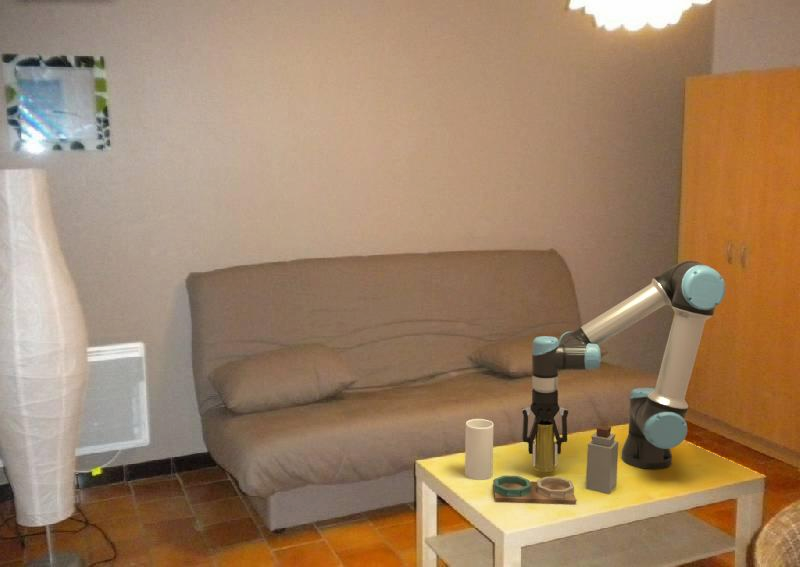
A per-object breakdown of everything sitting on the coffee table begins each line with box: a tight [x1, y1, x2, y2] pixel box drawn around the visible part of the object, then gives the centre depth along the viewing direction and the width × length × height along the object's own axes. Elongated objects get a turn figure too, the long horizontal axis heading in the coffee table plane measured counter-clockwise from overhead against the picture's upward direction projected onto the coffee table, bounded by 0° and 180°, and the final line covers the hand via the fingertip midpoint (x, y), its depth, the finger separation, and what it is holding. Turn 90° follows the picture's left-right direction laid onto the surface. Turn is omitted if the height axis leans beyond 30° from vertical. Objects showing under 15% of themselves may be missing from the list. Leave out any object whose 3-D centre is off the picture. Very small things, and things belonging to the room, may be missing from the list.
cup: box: [464, 418, 494, 481], centre depth 235 cm, size 8×8×16 cm
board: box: [492, 475, 577, 505], centre depth 222 cm, size 22×12×3 cm, turn 86°
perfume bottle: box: [585, 424, 619, 495], centre depth 226 cm, size 7×7×18 cm
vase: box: [533, 420, 556, 473], centre depth 234 cm, size 6×6×14 cm
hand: (544, 463), depth 235 cm, fingers closed on vase, 6 cm apart
